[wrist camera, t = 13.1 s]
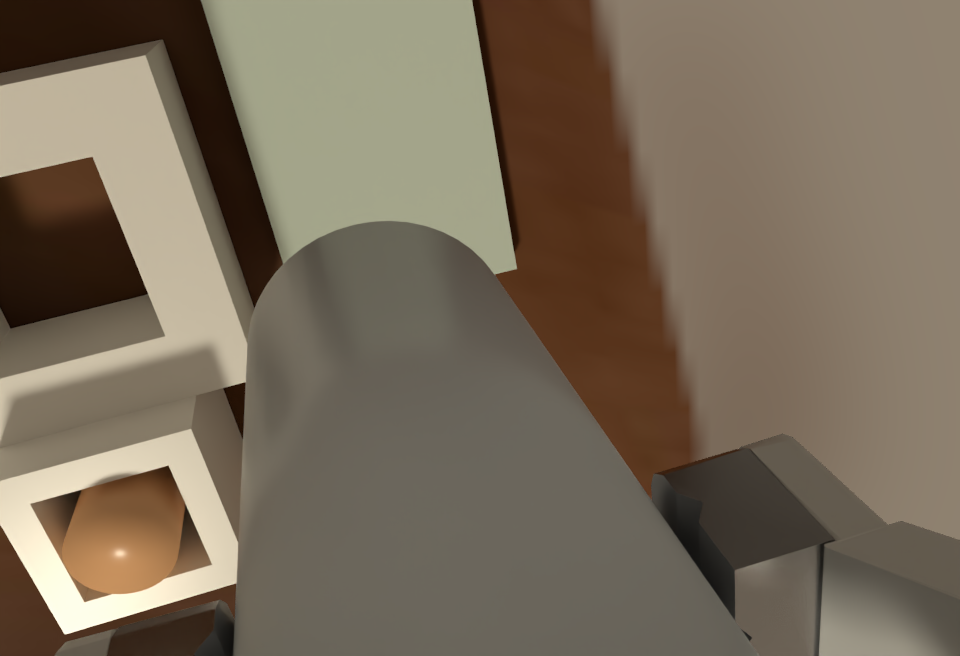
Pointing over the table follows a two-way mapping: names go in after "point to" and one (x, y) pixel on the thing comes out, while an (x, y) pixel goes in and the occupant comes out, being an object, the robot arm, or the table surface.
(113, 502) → the release button
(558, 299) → the table surface
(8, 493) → the housing
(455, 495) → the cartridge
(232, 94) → the mat
